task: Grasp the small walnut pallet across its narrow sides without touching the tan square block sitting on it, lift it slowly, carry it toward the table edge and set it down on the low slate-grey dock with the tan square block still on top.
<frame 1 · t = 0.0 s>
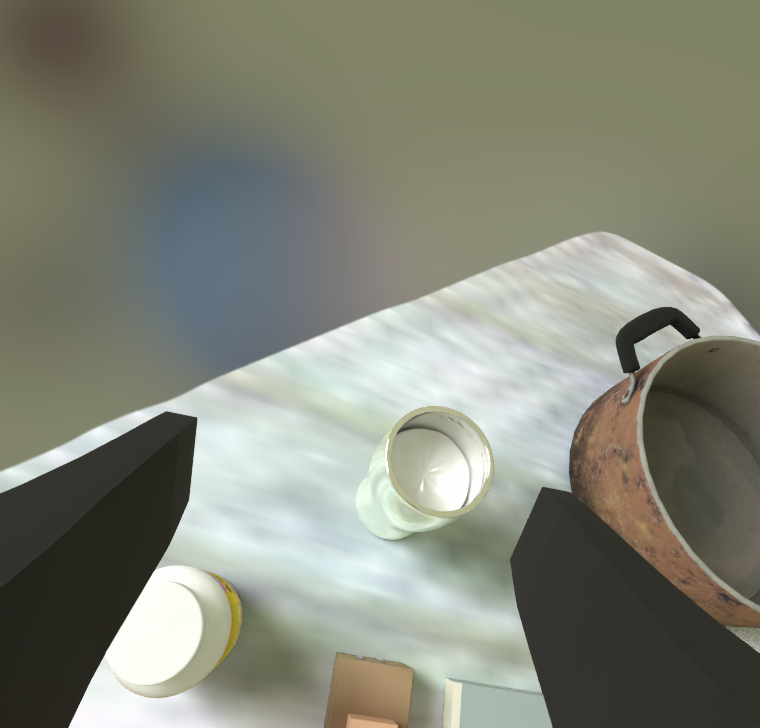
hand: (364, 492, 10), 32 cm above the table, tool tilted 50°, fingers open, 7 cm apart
supplement bottle: (196, 621, 37), on the table
cooking pot: (674, 492, 48), on the table
beer glass: (390, 502, 43), on the table
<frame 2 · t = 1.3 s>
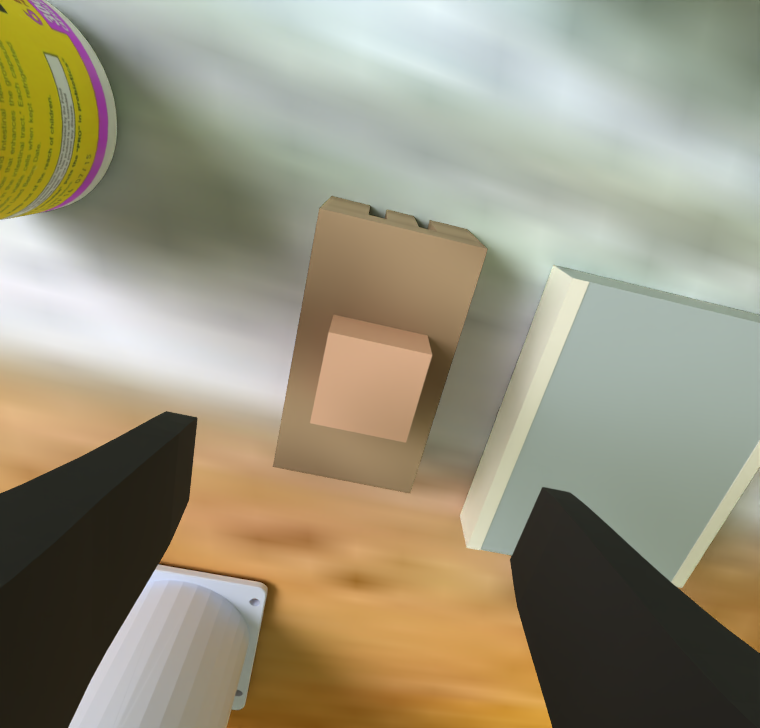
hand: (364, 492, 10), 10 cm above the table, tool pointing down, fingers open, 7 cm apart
tan square block: (370, 368, 16), point 4 cm above the table, touching pallet
dock: (612, 427, 21), on the table
supplement bottle: (27, 104, 17), on the table
pallet: (372, 327, 20), on the table, touching tan square block
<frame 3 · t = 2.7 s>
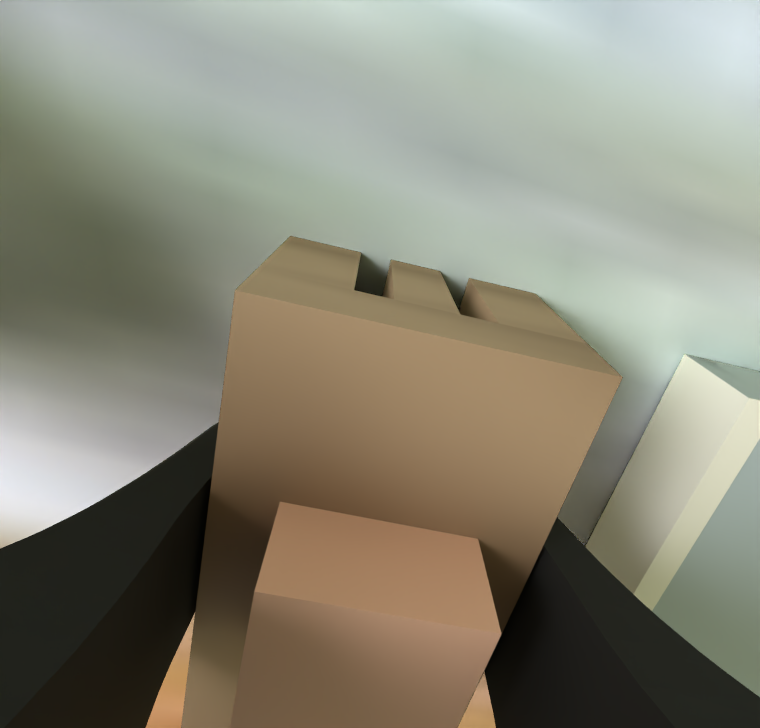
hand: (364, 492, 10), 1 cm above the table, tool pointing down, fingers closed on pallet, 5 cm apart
tan square block: (359, 593, 8), point 4 cm above the table, touching pallet
dock: (752, 596, 13), on the table
pallet: (365, 453, 12), on the table, touching tan square block, gripper
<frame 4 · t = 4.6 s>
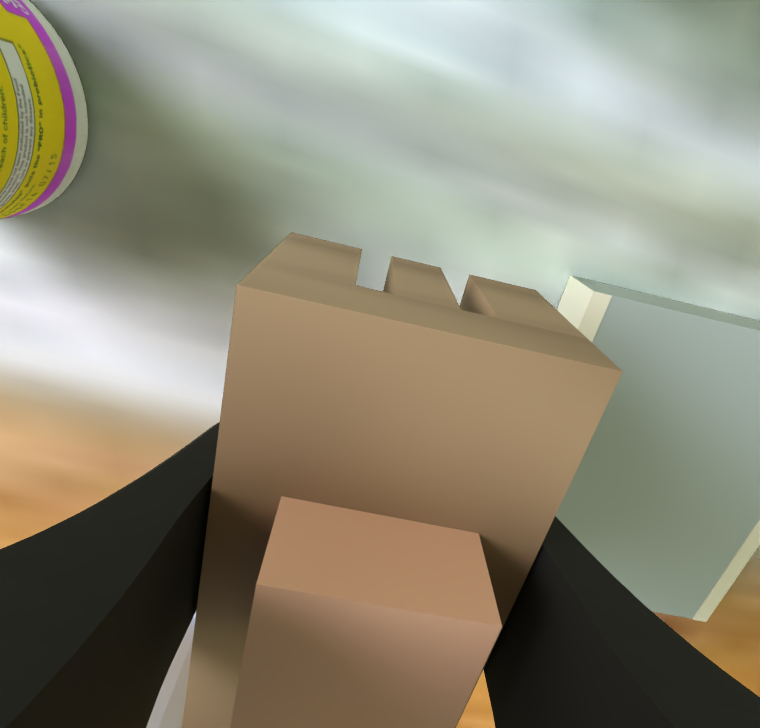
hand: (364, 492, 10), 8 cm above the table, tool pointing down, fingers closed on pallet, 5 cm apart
tan square block: (360, 588, 8), point 11 cm above the table, touching pallet
dock: (632, 450, 20), on the table
pallet: (366, 449, 12), point 7 cm above the table, touching tan square block, gripper
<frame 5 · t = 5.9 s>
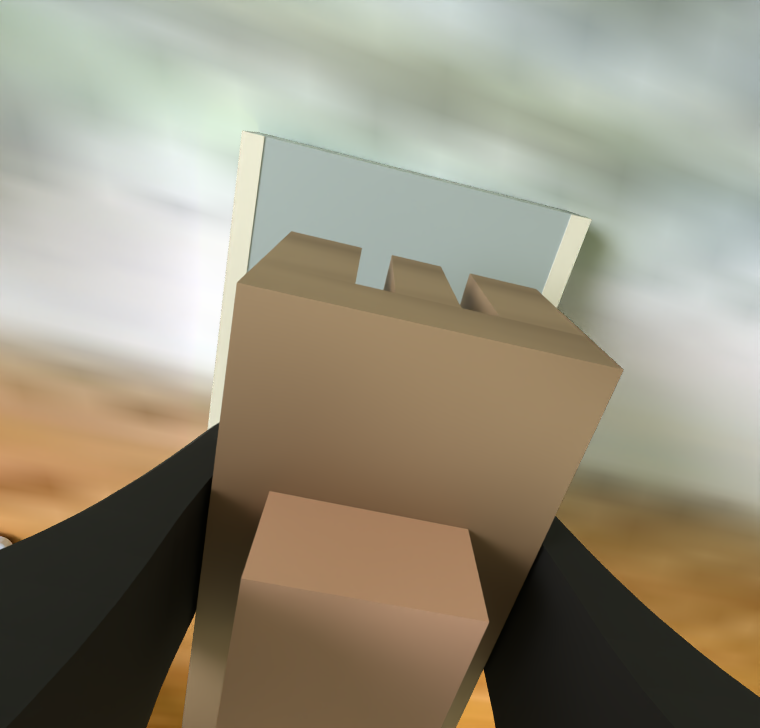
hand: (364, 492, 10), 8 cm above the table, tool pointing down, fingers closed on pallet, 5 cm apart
tan square block: (349, 584, 8), point 11 cm above the table, touching pallet
dock: (374, 346, 18), on the table
pallet: (366, 448, 12), point 7 cm above the table, touching tan square block, gripper
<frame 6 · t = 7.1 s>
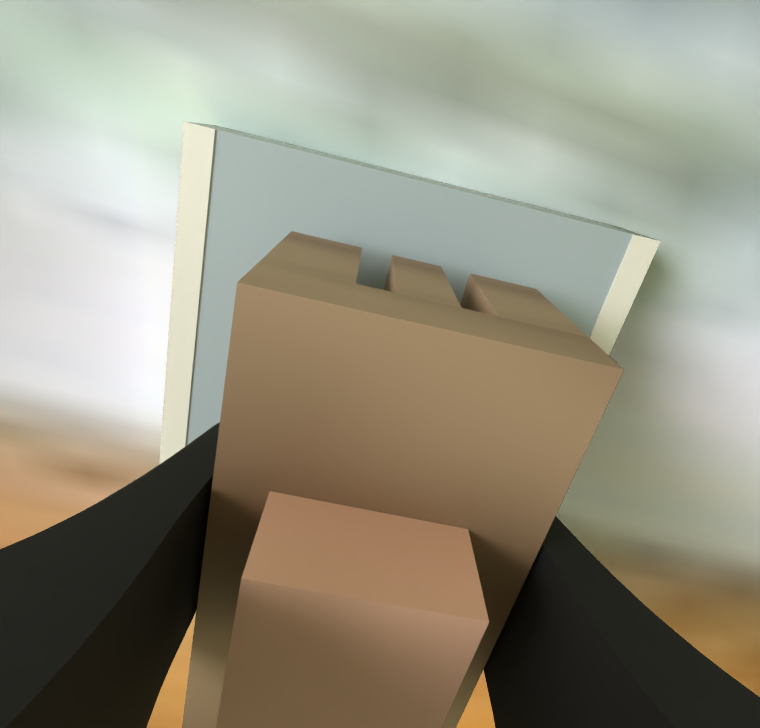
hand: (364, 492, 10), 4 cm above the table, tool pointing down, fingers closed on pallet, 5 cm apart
tan square block: (349, 584, 8), point 7 cm above the table, touching pallet
dock: (369, 395, 14), on the table
pallet: (366, 448, 12), point 3 cm above the table, touching tan square block, gripper
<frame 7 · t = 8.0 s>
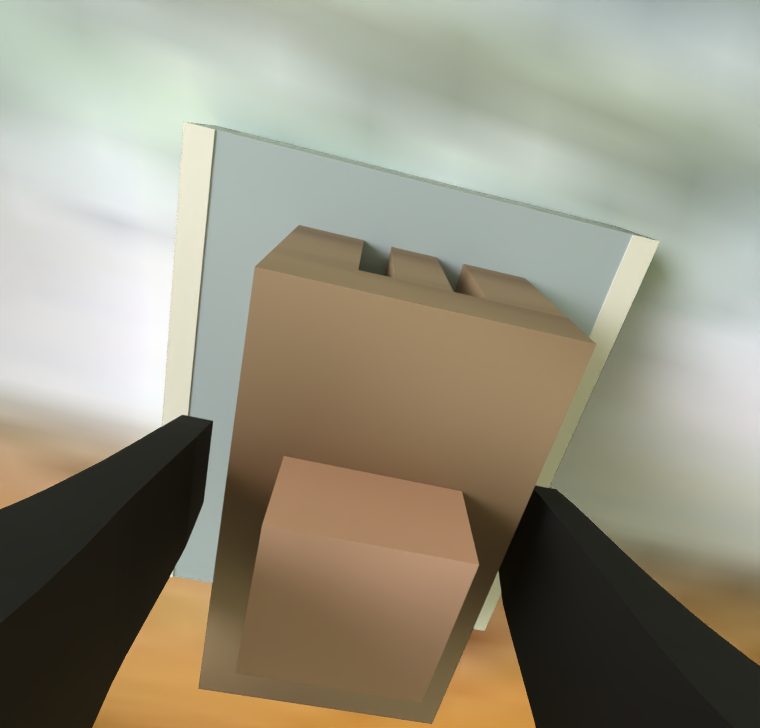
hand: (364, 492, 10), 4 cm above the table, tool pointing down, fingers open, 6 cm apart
tan square block: (355, 542, 9), point 6 cm above the table, touching pallet
dock: (369, 395, 14), on the table
pallet: (368, 428, 13), point 2 cm above the table, touching tan square block, dock
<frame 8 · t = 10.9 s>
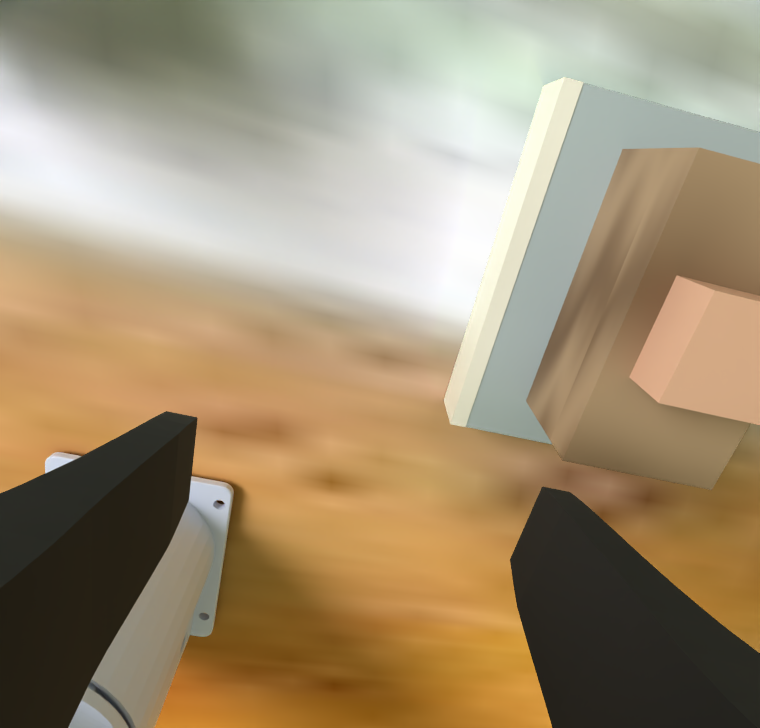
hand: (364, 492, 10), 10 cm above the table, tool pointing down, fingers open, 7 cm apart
tan square block: (702, 340, 14), point 6 cm above the table, touching pallet
dock: (610, 290, 19), on the table
pallet: (636, 302, 18), point 2 cm above the table, touching tan square block, dock
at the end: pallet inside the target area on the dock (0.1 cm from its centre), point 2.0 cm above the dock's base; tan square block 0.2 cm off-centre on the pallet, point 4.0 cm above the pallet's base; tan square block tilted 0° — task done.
